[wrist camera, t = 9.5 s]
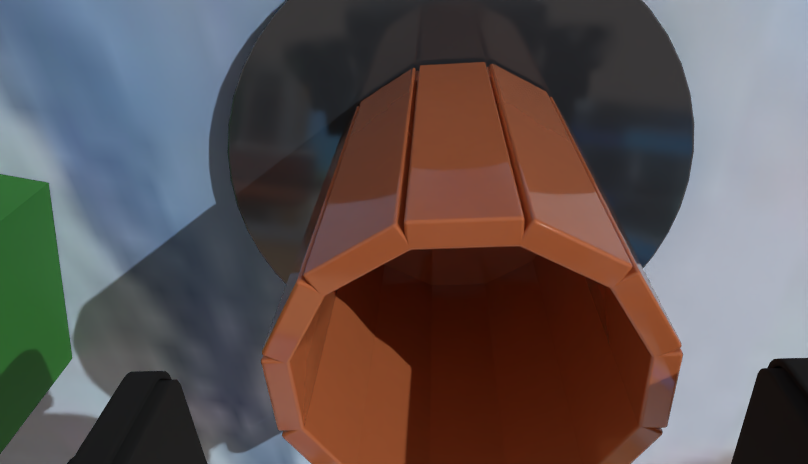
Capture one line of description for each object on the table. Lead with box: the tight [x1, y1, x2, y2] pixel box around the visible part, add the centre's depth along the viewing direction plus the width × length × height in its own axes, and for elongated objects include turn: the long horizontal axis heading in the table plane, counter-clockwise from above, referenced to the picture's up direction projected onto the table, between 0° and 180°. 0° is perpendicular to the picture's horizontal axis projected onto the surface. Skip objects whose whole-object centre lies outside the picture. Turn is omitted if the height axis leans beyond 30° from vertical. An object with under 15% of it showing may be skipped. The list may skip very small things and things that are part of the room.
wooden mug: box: [261, 62, 683, 464], centre depth 14 cm, size 10×7×8 cm
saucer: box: [228, 0, 694, 284], centre depth 18 cm, size 13×13×1 cm
